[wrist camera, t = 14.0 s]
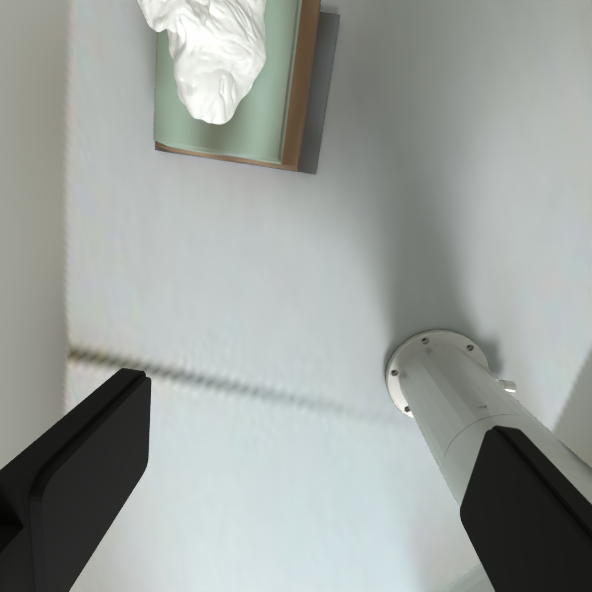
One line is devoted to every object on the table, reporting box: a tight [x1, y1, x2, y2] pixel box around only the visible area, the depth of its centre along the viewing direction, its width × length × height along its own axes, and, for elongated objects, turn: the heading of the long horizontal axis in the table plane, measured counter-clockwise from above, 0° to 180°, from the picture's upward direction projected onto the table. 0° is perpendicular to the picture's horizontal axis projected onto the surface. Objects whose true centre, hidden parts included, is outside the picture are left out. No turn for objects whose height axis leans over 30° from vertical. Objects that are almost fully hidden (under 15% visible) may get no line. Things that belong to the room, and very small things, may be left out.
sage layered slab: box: [154, 0, 340, 174], centre depth 32 cm, size 18×15×9 cm
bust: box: [137, 0, 266, 124], centre depth 23 cm, size 12×8×11 cm
